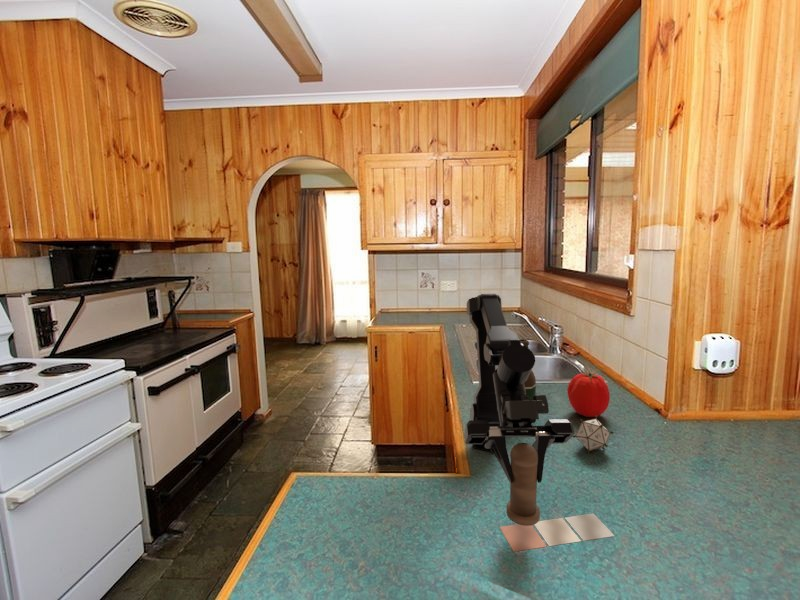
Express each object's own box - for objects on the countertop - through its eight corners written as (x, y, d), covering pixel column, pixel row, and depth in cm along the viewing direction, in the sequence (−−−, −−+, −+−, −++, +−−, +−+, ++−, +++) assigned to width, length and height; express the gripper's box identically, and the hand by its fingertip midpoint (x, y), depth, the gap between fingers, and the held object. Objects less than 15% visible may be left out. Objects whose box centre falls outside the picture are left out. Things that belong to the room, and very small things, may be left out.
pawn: (499, 513, 71) (500, 443, 69) (518, 500, 75) (520, 433, 73) (527, 530, 67) (528, 456, 65) (546, 515, 70) (548, 445, 68)
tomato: (610, 411, 123) (612, 369, 121) (606, 427, 113) (608, 382, 111) (570, 403, 129) (571, 364, 127) (562, 418, 119) (564, 375, 117)
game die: (599, 465, 101) (621, 447, 94) (566, 452, 102) (585, 433, 95) (598, 435, 107) (619, 416, 100) (567, 422, 108) (585, 403, 101)
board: (512, 567, 66) (513, 561, 66) (490, 525, 76) (490, 520, 76) (627, 549, 69) (628, 543, 69) (591, 511, 79) (591, 505, 79)
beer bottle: (535, 414, 122) (536, 337, 119) (534, 425, 115) (536, 344, 112) (508, 411, 125) (509, 336, 121) (506, 422, 118) (507, 342, 114)
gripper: (466, 378, 71) (475, 471, 62) (572, 376, 71) (598, 470, 61) (461, 402, 80) (469, 486, 71) (555, 401, 80) (575, 486, 70)
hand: (525, 482), depth 68 cm, fingers closed on pawn, 4 cm apart
